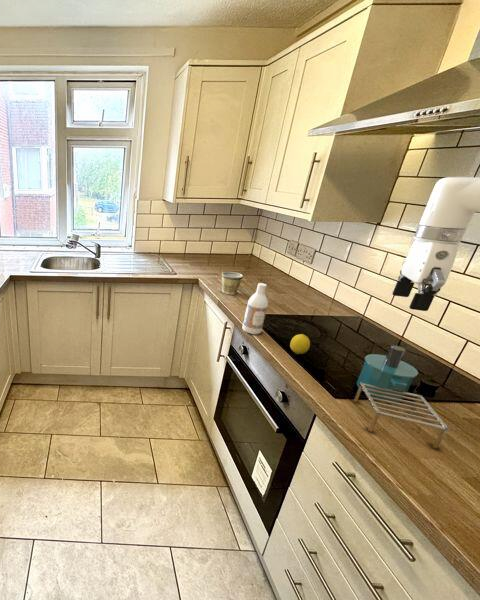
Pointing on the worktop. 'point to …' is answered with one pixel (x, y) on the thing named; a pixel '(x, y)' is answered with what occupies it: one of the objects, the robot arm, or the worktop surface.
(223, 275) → the ceramic cup
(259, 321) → the bath foam
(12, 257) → the worktop surface
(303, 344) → the lemon
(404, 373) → the lid
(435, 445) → the rack
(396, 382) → the pot
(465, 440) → the worktop surface
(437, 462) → the worktop surface
